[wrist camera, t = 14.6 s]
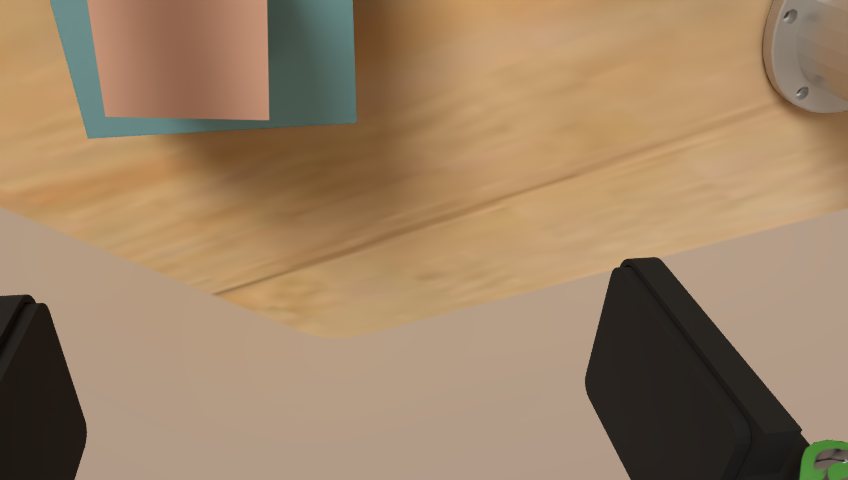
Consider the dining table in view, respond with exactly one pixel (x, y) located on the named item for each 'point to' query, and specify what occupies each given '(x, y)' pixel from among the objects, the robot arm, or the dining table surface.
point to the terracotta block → (182, 58)
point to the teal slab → (287, 71)
